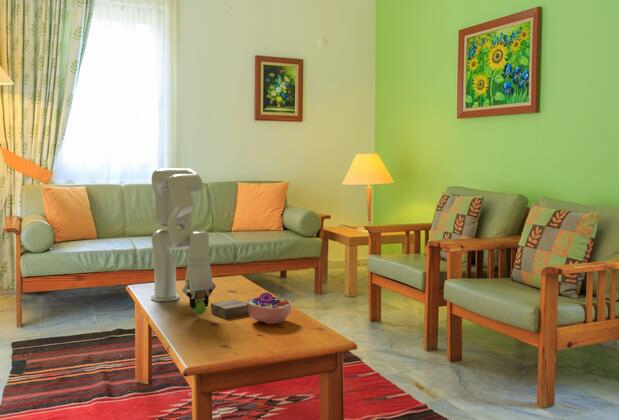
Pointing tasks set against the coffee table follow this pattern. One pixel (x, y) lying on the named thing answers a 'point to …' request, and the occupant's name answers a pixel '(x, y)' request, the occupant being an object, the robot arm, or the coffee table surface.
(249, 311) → the cell model
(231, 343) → the coffee table surface
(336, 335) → the coffee table surface
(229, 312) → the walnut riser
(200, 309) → the snail figurine
